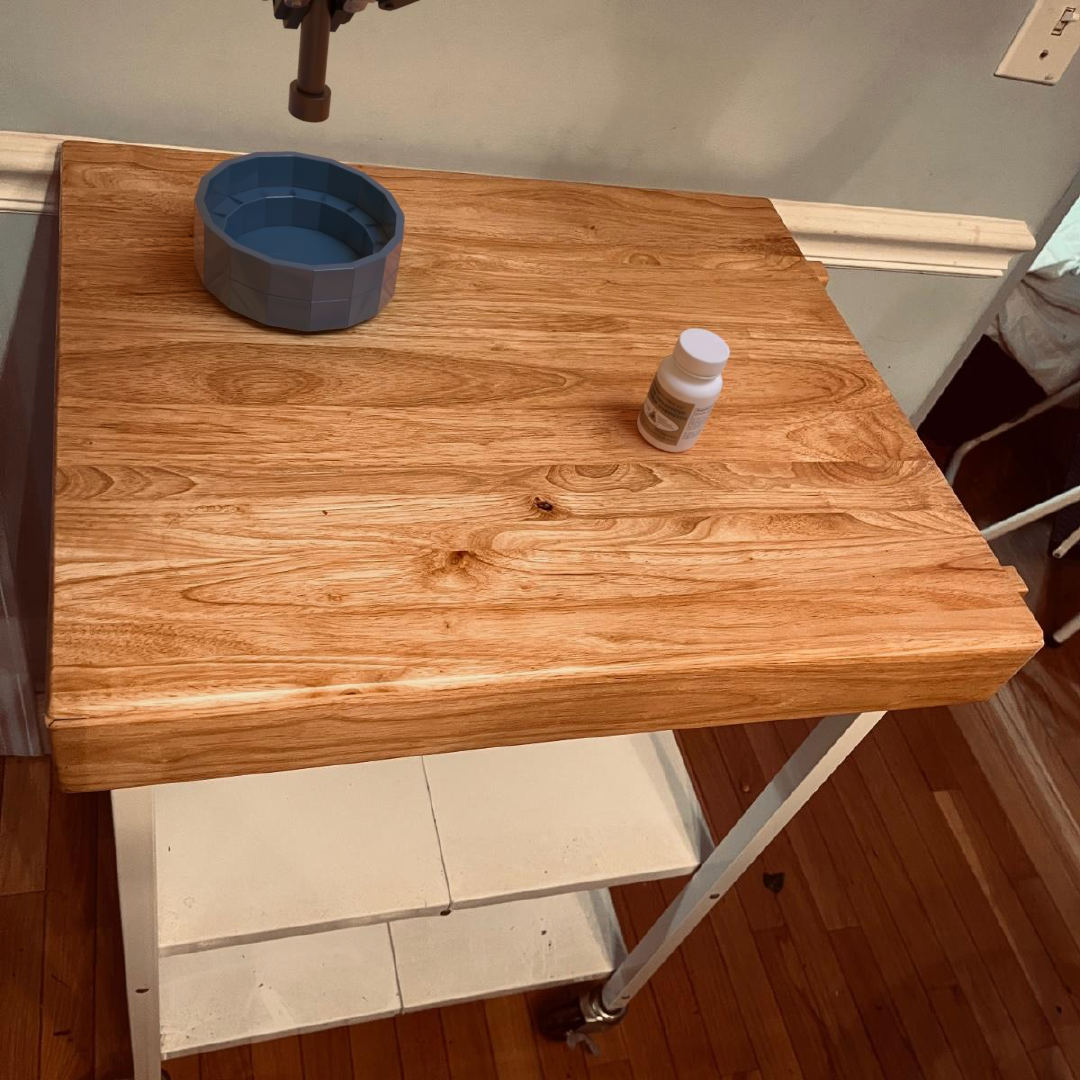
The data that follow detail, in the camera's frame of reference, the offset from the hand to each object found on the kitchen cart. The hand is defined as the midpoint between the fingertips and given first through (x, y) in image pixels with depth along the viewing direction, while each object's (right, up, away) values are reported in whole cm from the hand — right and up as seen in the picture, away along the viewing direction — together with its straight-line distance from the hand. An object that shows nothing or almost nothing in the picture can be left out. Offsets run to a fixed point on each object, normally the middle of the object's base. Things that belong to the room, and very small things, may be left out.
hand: (306, 12), depth 61 cm
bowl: (-4, -12, +14) cm, 19 cm away
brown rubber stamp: (0, -5, +2) cm, 5 cm away
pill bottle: (+22, -23, +13) cm, 34 cm away
